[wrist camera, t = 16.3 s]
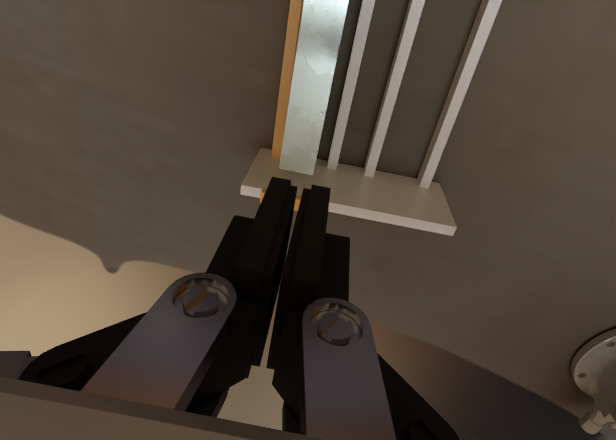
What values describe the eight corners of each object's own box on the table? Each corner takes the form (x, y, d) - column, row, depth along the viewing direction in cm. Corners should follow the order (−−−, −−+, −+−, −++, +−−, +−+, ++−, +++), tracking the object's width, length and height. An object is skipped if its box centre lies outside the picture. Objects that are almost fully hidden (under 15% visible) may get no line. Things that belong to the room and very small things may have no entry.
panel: (319, 141, 33) (312, 175, 28) (291, 135, 33) (278, 168, 28) (360, -55, 26) (361, -62, 20) (322, -63, 26) (314, -72, 20)
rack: (435, 191, 35) (453, 241, 28) (259, 156, 34) (238, 199, 28) (532, -48, 25) (593, -54, 18) (286, -97, 25) (262, -121, 18)
